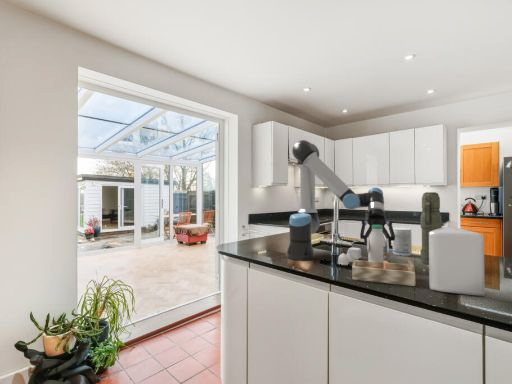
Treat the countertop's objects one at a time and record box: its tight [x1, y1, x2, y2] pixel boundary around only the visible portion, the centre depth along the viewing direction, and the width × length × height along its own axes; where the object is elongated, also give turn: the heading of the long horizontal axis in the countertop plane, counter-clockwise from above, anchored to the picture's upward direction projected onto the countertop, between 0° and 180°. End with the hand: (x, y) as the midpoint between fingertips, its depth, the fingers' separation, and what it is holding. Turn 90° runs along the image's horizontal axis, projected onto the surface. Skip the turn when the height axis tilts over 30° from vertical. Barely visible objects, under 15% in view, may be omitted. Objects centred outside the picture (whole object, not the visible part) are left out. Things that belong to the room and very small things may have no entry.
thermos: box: [420, 191, 443, 266], centre depth 134 cm, size 9×12×35 cm
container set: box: [337, 246, 362, 266], centre depth 139 cm, size 20×5×6 cm, turn 139°
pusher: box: [384, 255, 389, 270], centre depth 109 cm, size 2×10×8 cm, turn 158°
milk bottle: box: [367, 225, 388, 262], centre depth 124 cm, size 8×8×20 cm
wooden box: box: [351, 259, 416, 287], centre depth 110 cm, size 22×13×7 cm, turn 68°
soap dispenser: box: [428, 226, 486, 297], centre depth 98 cm, size 15×14×22 cm
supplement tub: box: [392, 227, 413, 257], centre depth 154 cm, size 10×10×15 cm
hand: (377, 251), depth 121 cm, fingers closed on milk bottle, 7 cm apart
